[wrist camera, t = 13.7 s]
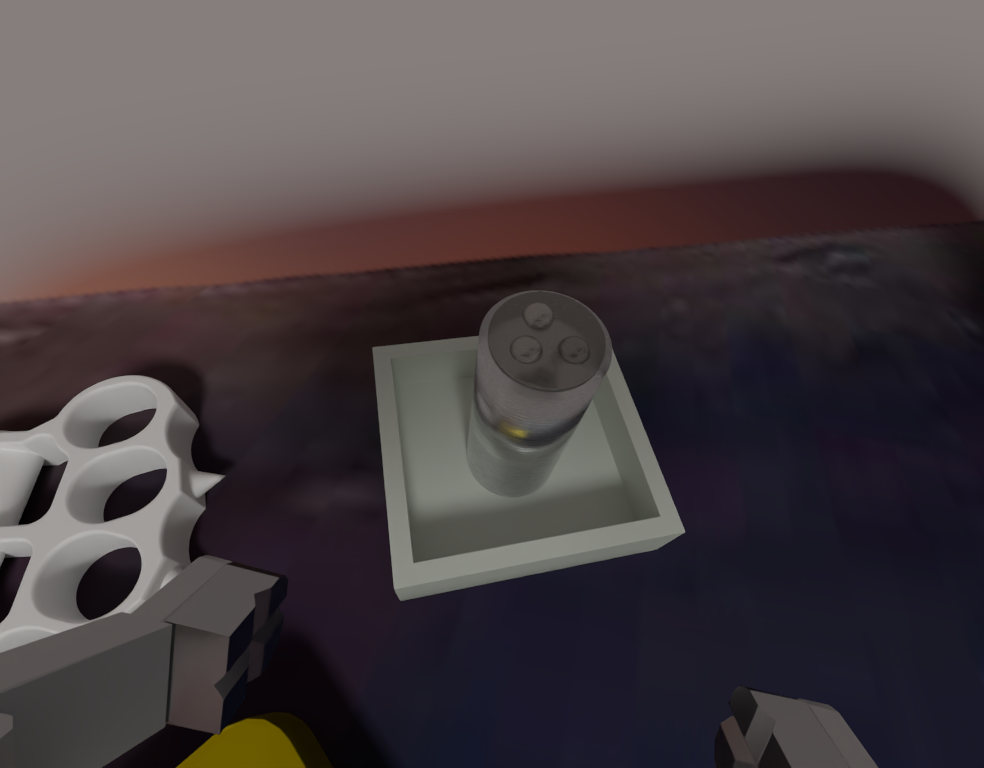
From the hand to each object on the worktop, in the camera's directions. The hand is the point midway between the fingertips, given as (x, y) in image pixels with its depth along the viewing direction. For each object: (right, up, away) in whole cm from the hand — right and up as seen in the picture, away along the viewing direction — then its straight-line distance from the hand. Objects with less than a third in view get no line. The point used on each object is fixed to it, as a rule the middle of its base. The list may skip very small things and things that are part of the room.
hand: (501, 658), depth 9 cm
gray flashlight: (+1, +1, +21) cm, 21 cm away
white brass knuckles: (-22, -4, +18) cm, 29 cm away
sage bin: (+1, 0, +22) cm, 22 cm away
